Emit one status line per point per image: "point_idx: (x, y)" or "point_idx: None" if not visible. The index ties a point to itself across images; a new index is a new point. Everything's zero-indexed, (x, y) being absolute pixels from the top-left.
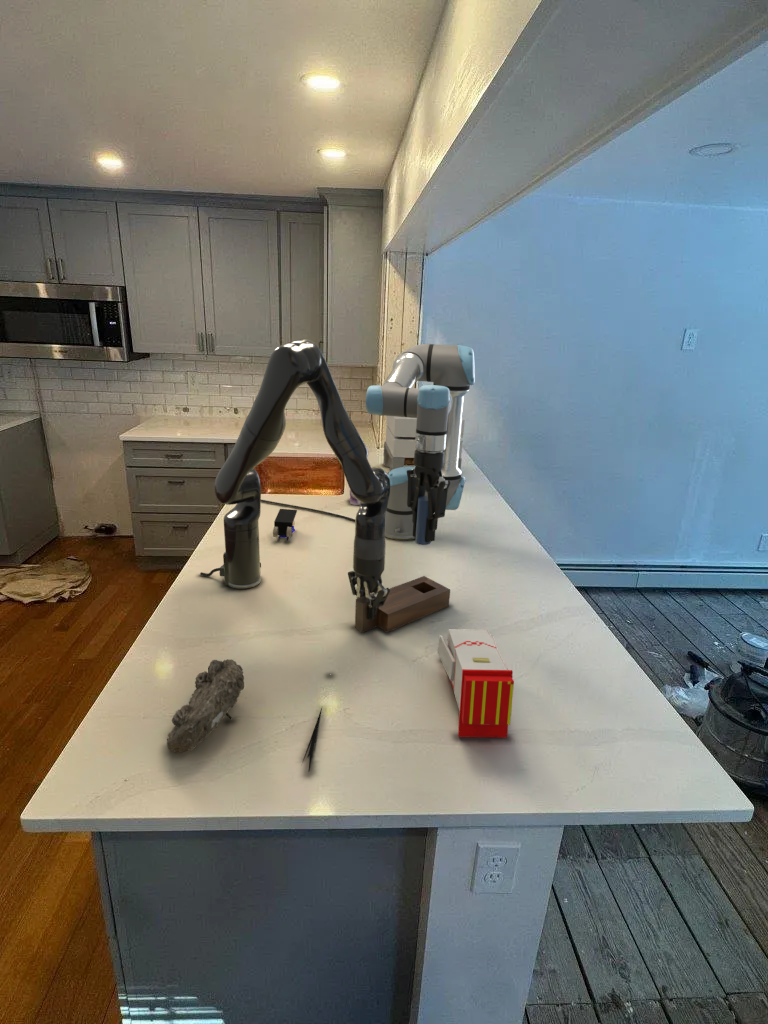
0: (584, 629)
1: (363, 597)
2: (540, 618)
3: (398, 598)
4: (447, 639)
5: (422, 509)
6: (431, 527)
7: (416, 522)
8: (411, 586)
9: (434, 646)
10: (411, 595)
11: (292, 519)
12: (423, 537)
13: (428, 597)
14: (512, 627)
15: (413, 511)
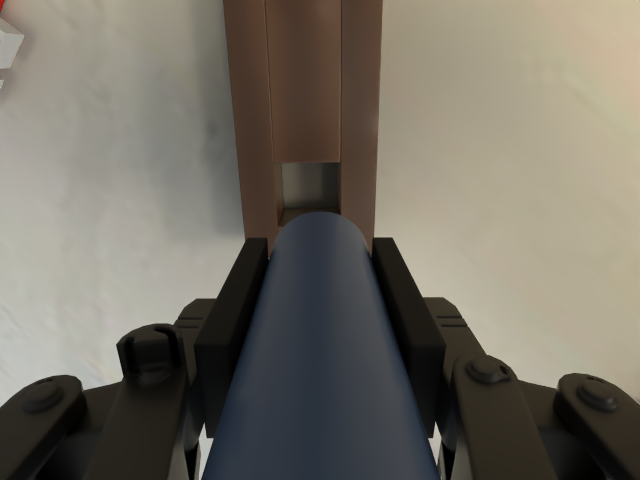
0: None
1: None
2: (89, 369)
3: (295, 51)
4: (20, 32)
5: (267, 393)
6: (201, 312)
7: (390, 299)
8: (341, 164)
9: (91, 28)
10: (286, 113)
11: None
12: (278, 245)
13: (241, 156)
14: (83, 288)
15: (467, 355)
